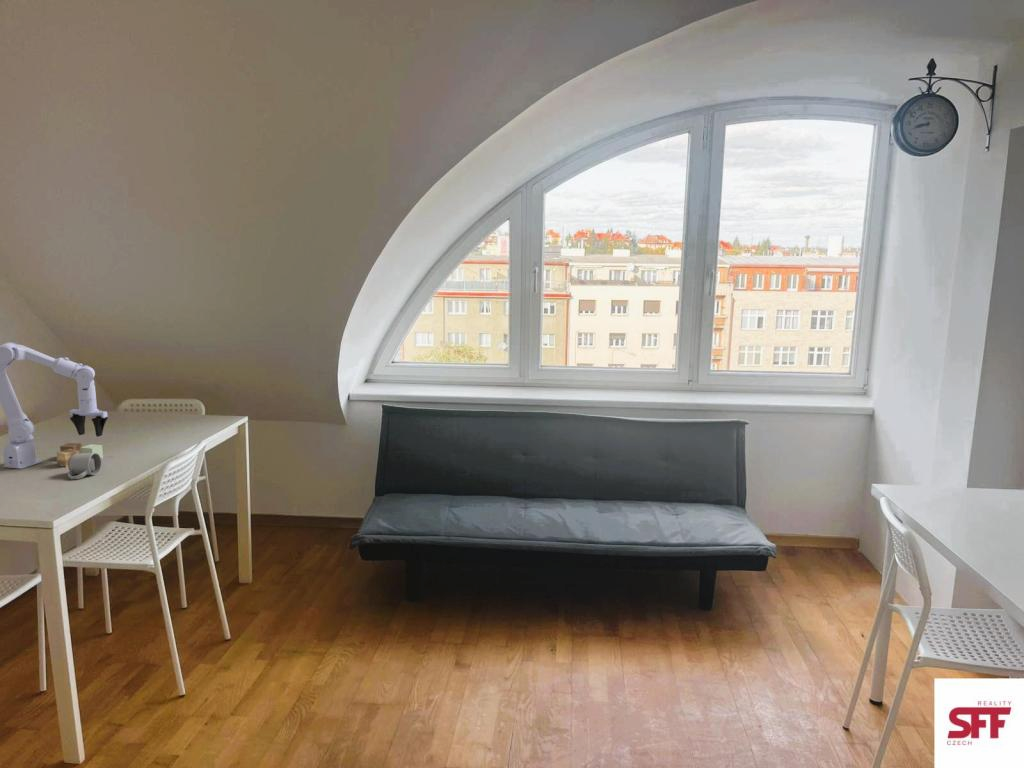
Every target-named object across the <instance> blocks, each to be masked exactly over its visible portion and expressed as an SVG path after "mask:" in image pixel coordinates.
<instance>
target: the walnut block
mask: <svg viewBox="0 0 1024 768" xmlns="http://www.w3.org/2000/svg"><path fill="white" fill-rule="evenodd" d="M82 444H83V443H82V442H67V443H65V444H62V445H60V446H59V451H63V450H67V449H73V450H77V451H79V454H81V447H83V445H82Z"/></svg>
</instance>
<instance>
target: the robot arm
mask: <svg viewBox="0 0 1024 768" xmlns="http://www.w3.org/2000/svg"><path fill="white" fill-rule="evenodd" d="M23 360H29V361H32V362H34V363H37V364H41V365H43V366H46V367H49V368H51V369H52V370H53V372H54V373H56V374H59V375H62V376H63V377H67V378H69V379H72V380H73V379H74V380H75V381H76V382H77V388H76V389H77V391H76V392H77V399H78V409H77V408H76V409H69V416H71V417H69V420H70V421H71V422H72V424H73V425H74V427H75V429H76V431H77V433H78V435H79V436H82V435H85V433H86V425H85V423H86V418H87V417H92V418H91V421H92V423H93V427H94V431H95V436H96V437H101V436H103V432H104V428H105V425H106V422H107V420H108V411H104V410H100V409H99V408H98V407H97V406H98V404H97V393H96V385H95V376H96V372H95V370H94V368H92V367H91V366H89V365H85V364H83V363H77V362H74V361H72V360H70V358H69V357H58V358H55V357H52V356H49V355H47V354H44V353H42V352H41V351H38V350H35V349H33V348H30V347H29V346H25V345H23V344H18V343H15V342H14V341H13V342H12V341H7V342H4V343H3V344H0V404H1V407H2V410H3V412H4V415H5V417H6V425H7V428H8V430H7V435H8V438H9V439H10V441H9V443H8V444H5V445H4V447H3V451H2V452H3V460H4V462H3V463H4V465H2V467H3V468H9V469H10V468H11V469H20V470H21V469H25V468H27V467H31V466H34V465H37V464H41V463H43V460H41V459H37V454H36V444H35V437H34V436H33V433H34V432H35V425H34V423H33V422H32V421H30V419H29V418H28V415H27V414H25V413H24V411H23V410H22V406H21V405H20V402H19V400H18V398H17V394H16V393H15V392H16V391H15V390H14V387H13V386H12V383H11V380H10V378H9V376H8V374H7V370H8V368H9V366H10V365H11V363H12V362H13V361H23ZM93 417H94V418H93Z"/></svg>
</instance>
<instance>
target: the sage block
mask: <svg viewBox="0 0 1024 768" xmlns="http://www.w3.org/2000/svg"><path fill="white" fill-rule="evenodd" d="M84 453H98V454H99V456H100V457H101V458H102V459H104V451H103V445H102V444H91V443H90V444H87V445H84V446H82V447H81V454H84Z"/></svg>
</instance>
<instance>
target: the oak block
mask: <svg viewBox="0 0 1024 768" xmlns="http://www.w3.org/2000/svg"><path fill="white" fill-rule="evenodd" d="M75 454H79V451H77V450H73V449H67V450H63V451H61V450H59V451H56V462H57V466H59V465H62V466H61V467H63V466H65V467H64V468H68V467H67V466H68V462H69V459H70V457H71V456H72V455H75Z"/></svg>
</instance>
